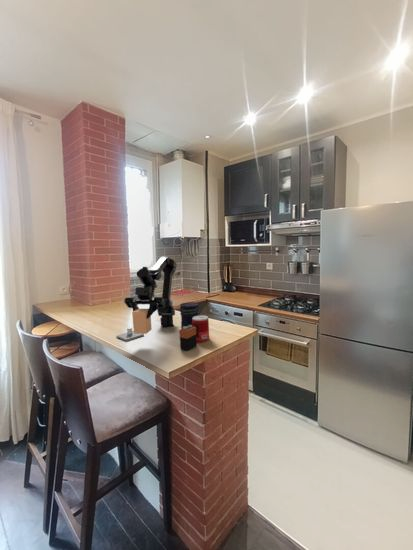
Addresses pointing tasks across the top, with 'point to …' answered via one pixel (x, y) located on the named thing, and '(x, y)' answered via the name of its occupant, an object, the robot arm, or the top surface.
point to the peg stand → (129, 335)
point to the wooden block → (141, 321)
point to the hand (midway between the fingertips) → (140, 318)
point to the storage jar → (188, 313)
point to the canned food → (201, 327)
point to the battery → (188, 337)
